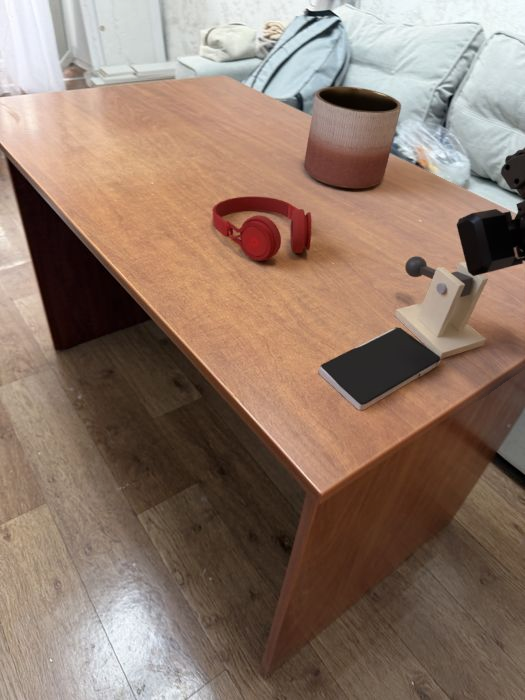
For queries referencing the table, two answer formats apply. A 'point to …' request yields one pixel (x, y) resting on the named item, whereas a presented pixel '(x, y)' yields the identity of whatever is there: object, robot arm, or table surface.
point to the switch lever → (419, 267)
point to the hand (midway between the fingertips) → (473, 252)
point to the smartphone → (378, 367)
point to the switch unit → (445, 314)
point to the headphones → (263, 226)
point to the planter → (351, 136)
